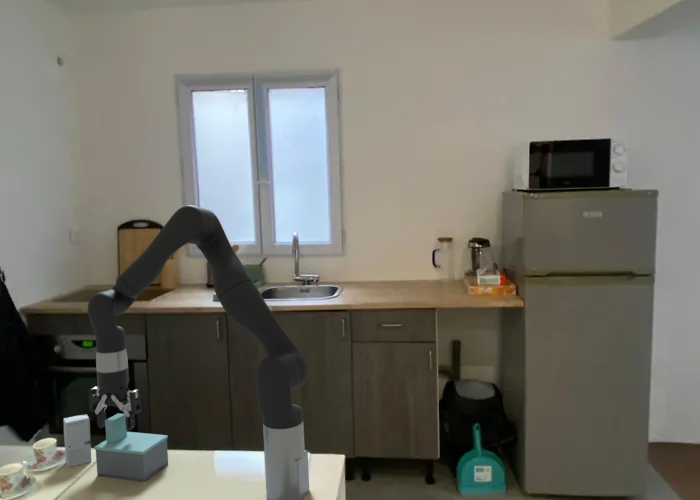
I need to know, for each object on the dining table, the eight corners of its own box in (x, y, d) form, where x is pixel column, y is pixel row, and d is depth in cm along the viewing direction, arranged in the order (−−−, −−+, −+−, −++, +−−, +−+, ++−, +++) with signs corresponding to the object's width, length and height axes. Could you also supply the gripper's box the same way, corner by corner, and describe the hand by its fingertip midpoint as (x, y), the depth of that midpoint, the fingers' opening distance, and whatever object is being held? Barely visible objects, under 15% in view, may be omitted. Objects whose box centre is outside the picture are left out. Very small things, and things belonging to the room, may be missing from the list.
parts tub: (168, 464, 153) (166, 438, 152) (144, 481, 143) (142, 454, 143) (123, 459, 157) (121, 434, 156) (97, 475, 147) (95, 449, 147)
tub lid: (168, 442, 152) (166, 413, 152) (143, 459, 142) (141, 428, 142) (121, 437, 157) (119, 409, 156) (94, 454, 147) (92, 423, 146)
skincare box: (67, 468, 152) (64, 423, 152) (65, 462, 156) (61, 418, 155) (92, 461, 156) (89, 417, 155) (89, 456, 160) (86, 413, 159)
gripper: (145, 364, 151) (148, 425, 152) (99, 361, 155) (103, 420, 156) (126, 372, 144) (130, 436, 145) (79, 369, 148) (83, 431, 149)
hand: (116, 428), depth 151 cm, fingers open, 8 cm apart
